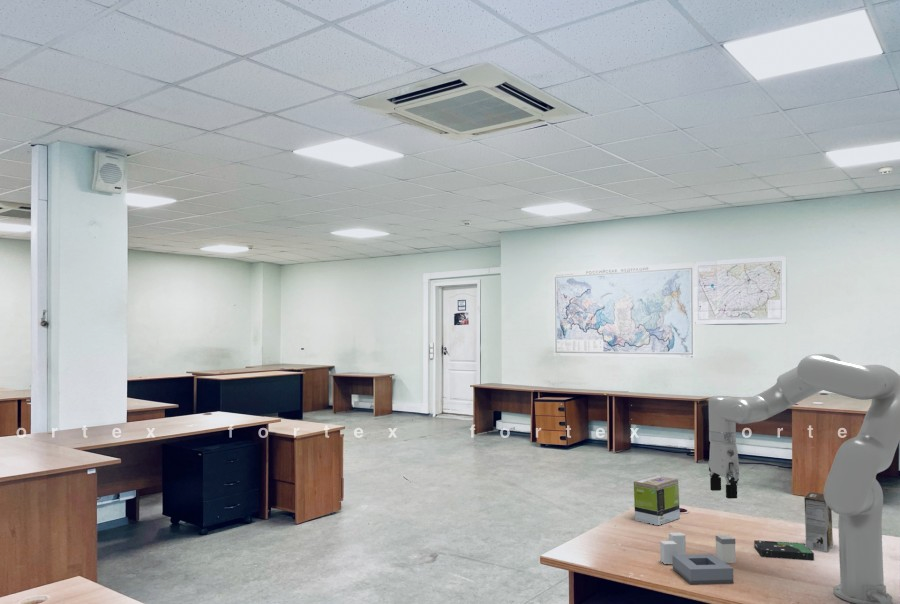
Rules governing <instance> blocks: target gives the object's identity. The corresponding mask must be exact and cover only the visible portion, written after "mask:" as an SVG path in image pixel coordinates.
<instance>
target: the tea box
mask: <svg viewBox="0 0 900 604" xmlns="http://www.w3.org/2000/svg"><path fill="white" fill-rule="evenodd" d="M679 489H680V488H679V479H678V478H672V477H666V476H660V475H652V476H648V477H646V478H642V479H638V480H634V481H633V495H634V496H633V499H634V501H633V503H634V520H635V521H636V522H639V521H641V522H640V523H643V522H646V523H645V524H647V523H650V524H649V525H651V524H654V525H653V526H656V525H659V526H661V524H662V525H664V524H667V523H671V522H672V521H676V520H679V519H680V518H681V513H680V511H681V508H680V490H679Z"/></svg>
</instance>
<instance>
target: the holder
mask: <svg viewBox="0 0 900 604" xmlns="http://www.w3.org/2000/svg"><path fill="white" fill-rule="evenodd" d="M672 560H673V565H672V570H673V569H674V570H675V571H674V570H673V571H674V572H676V574H678V573H679V574H680V575H681V576H682V577H681V576H680V575H679V574H678V575H679V576H680V577H681V578H683V579H684V580H685V581H686V582H687V583H688V584H690V585H713V584H714V585H719V584H720V585H722V584H723V585H724V584H734V567H732V566H730V565H729V563H725V562H723V561H722V560H721V559H719V558H718V557H716V554H713V553H700V554H699V553H698V554H697V553H696V554H686V555H672Z"/></svg>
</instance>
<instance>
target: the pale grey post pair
mask: <svg viewBox="0 0 900 604" xmlns="http://www.w3.org/2000/svg"><path fill="white" fill-rule="evenodd" d="M659 542H660V543H659V548H660V550H659V554H660V555H659V556H660V562H661V563H662V562H663V563H664V564H673V560H672V555H687V551H686V534H684V533H683V532H668V540H660V541H659ZM663 563H662V564H663ZM664 564H663V565H664Z"/></svg>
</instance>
